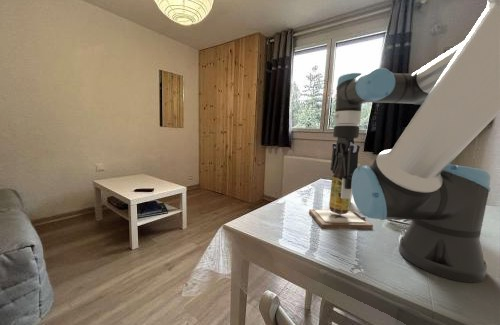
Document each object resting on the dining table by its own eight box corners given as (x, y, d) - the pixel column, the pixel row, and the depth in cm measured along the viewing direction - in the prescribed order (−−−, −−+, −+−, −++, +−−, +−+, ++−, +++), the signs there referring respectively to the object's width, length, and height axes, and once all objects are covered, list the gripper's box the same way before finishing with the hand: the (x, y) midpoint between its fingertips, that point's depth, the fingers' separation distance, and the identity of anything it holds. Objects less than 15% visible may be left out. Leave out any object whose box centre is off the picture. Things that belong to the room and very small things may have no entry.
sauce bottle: (325, 209, 73) (329, 152, 71) (338, 207, 76) (343, 152, 73) (339, 216, 67) (344, 154, 65) (353, 214, 70) (359, 154, 67)
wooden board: (372, 228, 66) (373, 222, 66) (322, 228, 65) (322, 221, 65) (351, 213, 79) (352, 207, 78) (309, 212, 78) (309, 206, 78)
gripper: (323, 126, 77) (319, 187, 80) (349, 123, 58) (342, 204, 61) (344, 126, 77) (338, 188, 80) (376, 124, 58) (368, 204, 61)
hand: (340, 194), depth 71 cm, fingers closed on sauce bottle, 6 cm apart
